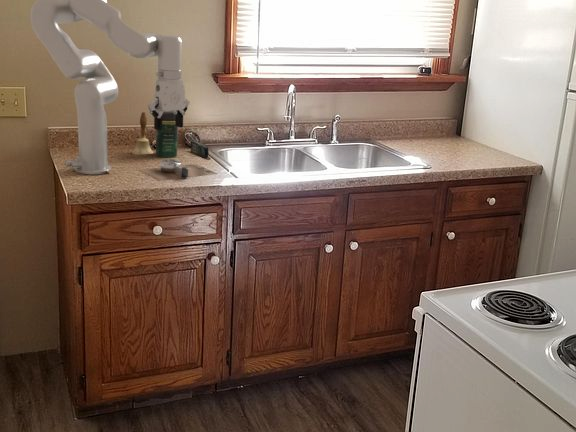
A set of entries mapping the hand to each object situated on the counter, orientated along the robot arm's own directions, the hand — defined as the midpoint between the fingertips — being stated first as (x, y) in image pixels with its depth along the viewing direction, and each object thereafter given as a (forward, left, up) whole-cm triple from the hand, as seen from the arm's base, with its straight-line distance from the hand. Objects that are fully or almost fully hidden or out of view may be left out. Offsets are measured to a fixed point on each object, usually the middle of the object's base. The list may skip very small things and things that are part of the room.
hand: (168, 128), depth 231 cm
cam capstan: (+5, +3, -16) cm, 17 cm away
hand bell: (+10, +39, -18) cm, 44 cm away
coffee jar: (+15, +29, -18) cm, 38 cm away
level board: (+7, +5, -18) cm, 20 cm away
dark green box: (+29, +28, -19) cm, 44 cm away
